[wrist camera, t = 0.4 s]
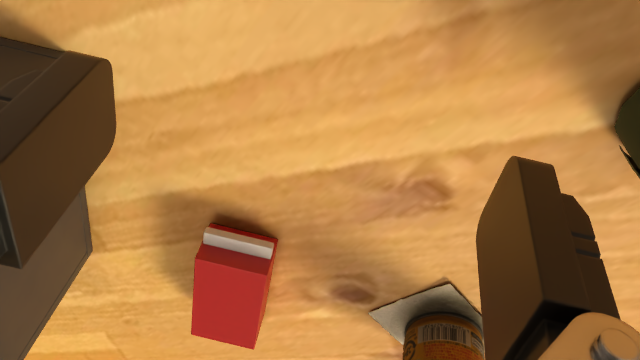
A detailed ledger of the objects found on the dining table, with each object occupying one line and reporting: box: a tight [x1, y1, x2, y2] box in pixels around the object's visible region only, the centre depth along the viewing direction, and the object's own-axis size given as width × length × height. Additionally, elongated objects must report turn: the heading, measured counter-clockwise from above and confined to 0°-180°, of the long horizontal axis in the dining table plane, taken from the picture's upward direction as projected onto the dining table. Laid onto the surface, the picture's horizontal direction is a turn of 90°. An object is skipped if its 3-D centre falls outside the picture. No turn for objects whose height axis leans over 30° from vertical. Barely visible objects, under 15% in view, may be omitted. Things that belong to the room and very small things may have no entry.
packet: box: [191, 223, 278, 349], centre depth 43 cm, size 11×5×4 cm, turn 170°
